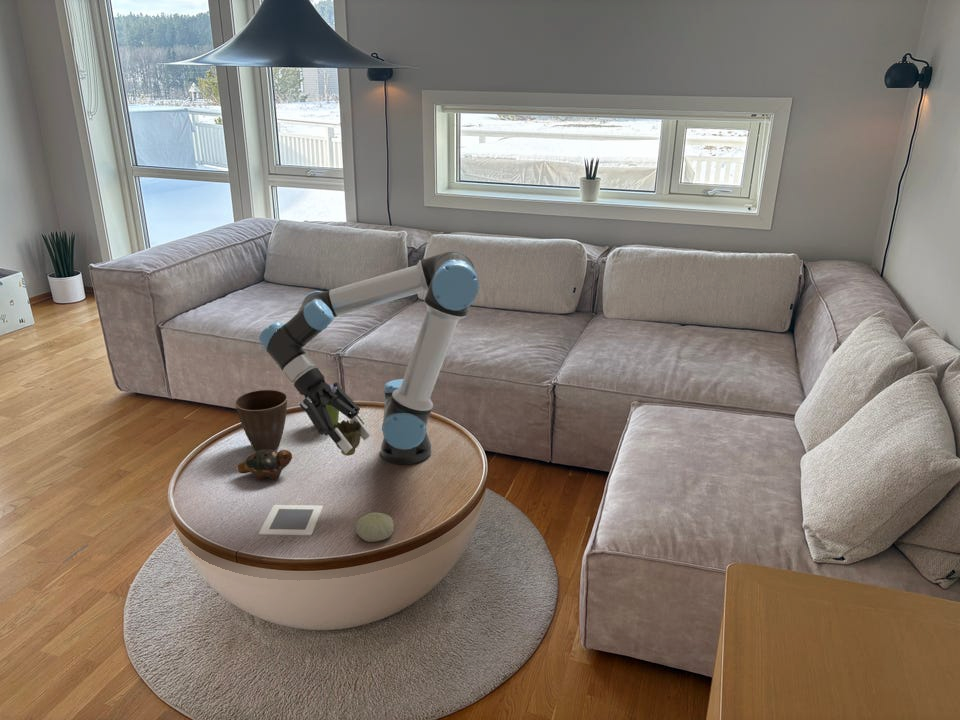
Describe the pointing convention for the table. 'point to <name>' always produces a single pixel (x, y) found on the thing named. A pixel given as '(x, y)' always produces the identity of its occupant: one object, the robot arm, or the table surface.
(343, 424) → the cup
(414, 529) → the table surface
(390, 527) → the sea urchin shell
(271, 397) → the plant pot
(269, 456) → the decorative turtle
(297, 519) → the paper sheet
